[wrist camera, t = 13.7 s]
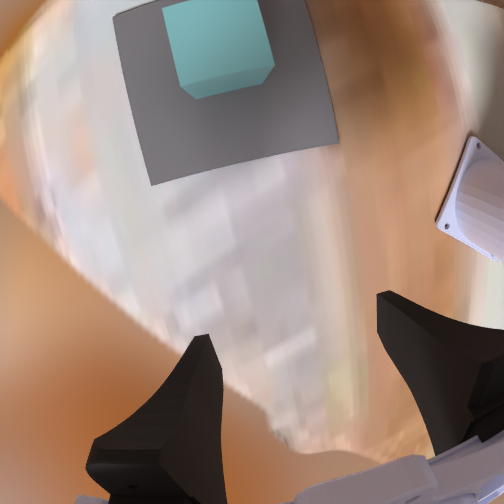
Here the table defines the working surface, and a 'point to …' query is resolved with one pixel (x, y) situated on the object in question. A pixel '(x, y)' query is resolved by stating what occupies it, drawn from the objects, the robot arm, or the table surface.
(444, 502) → the robot arm
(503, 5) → the walnut box
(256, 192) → the table surface
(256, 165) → the table surface
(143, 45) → the charcoal mat
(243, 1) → the teal block
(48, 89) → the table surface
